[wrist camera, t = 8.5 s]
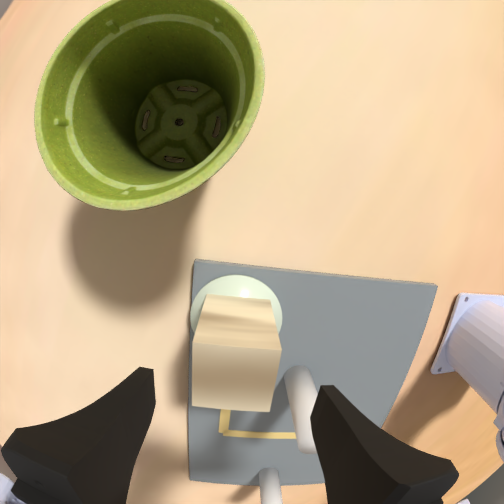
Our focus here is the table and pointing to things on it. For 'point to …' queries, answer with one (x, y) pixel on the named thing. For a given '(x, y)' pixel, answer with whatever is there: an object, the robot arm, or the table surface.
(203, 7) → the plant pot
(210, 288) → the pad
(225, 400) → the block
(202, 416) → the board
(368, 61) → the table surface
